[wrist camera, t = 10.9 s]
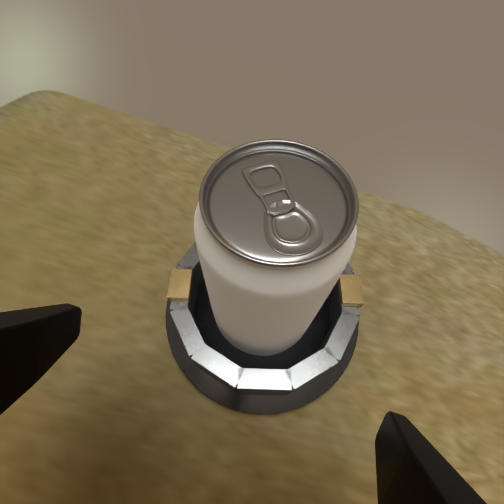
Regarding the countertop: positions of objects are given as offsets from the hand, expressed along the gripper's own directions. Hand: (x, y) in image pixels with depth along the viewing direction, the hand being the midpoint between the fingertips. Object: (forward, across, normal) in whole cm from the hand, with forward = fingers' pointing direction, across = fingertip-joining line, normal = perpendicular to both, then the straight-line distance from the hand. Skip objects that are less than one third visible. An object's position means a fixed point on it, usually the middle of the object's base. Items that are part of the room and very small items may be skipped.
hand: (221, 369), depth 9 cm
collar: (+13, 0, +4) cm, 14 cm away
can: (+12, 0, +4) cm, 13 cm away
